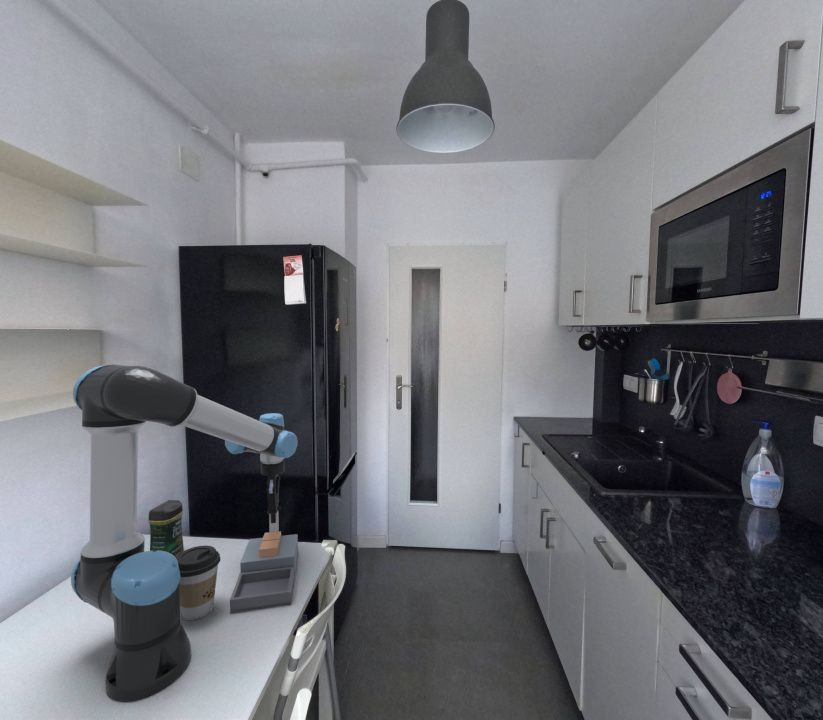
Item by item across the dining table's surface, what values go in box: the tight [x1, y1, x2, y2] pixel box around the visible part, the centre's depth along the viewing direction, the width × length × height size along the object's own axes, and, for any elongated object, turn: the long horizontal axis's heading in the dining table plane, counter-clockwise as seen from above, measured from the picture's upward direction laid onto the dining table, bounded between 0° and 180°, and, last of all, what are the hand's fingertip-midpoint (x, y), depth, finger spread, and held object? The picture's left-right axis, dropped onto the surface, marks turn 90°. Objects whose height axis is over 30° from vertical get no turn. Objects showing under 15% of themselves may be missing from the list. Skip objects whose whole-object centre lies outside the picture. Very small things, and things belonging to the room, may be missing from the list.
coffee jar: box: [147, 499, 185, 558], centre depth 125 cm, size 10×8×19 cm
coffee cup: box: [176, 545, 221, 621], centre depth 102 cm, size 11×11×15 cm
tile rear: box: [262, 530, 282, 546], centre depth 124 cm, size 5×5×2 cm
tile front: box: [259, 540, 279, 558], centre depth 119 cm, size 5×5×2 cm
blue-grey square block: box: [239, 533, 299, 577], centre depth 122 cm, size 14×15×6 cm
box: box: [229, 567, 295, 614], centre depth 108 cm, size 12×15×4 cm
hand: (274, 530), depth 131 cm, fingers closed
